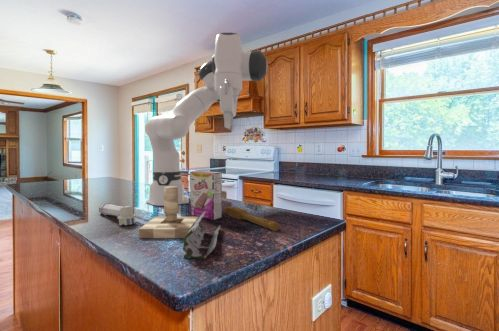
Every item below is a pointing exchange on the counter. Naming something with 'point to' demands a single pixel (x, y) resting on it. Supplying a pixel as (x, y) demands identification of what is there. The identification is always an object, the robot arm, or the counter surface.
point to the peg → (171, 204)
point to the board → (167, 228)
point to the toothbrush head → (119, 213)
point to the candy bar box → (206, 194)
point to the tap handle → (251, 218)
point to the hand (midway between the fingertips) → (228, 128)
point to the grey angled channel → (198, 240)
